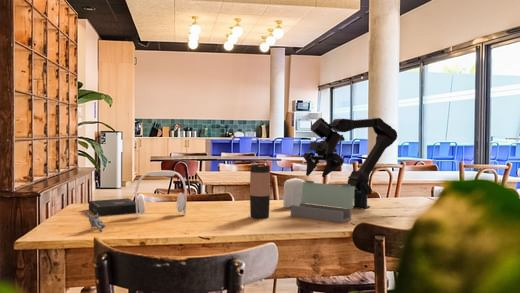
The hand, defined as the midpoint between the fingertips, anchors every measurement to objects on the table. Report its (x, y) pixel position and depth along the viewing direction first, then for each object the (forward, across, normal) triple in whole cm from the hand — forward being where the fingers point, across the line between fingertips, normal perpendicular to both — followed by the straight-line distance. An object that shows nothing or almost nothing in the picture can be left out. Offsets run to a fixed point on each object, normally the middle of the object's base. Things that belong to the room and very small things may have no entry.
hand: (314, 176), depth 195 cm
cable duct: (+16, +9, +4) cm, 18 cm away
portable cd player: (+49, -49, -46) cm, 83 cm away
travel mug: (+26, -5, -12) cm, 29 cm away
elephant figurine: (+60, -20, -60) cm, 87 cm away
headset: (+43, -28, -37) cm, 63 cm away
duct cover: (+6, +8, +2) cm, 10 cm away
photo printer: (+10, -16, +10) cm, 22 cm away
